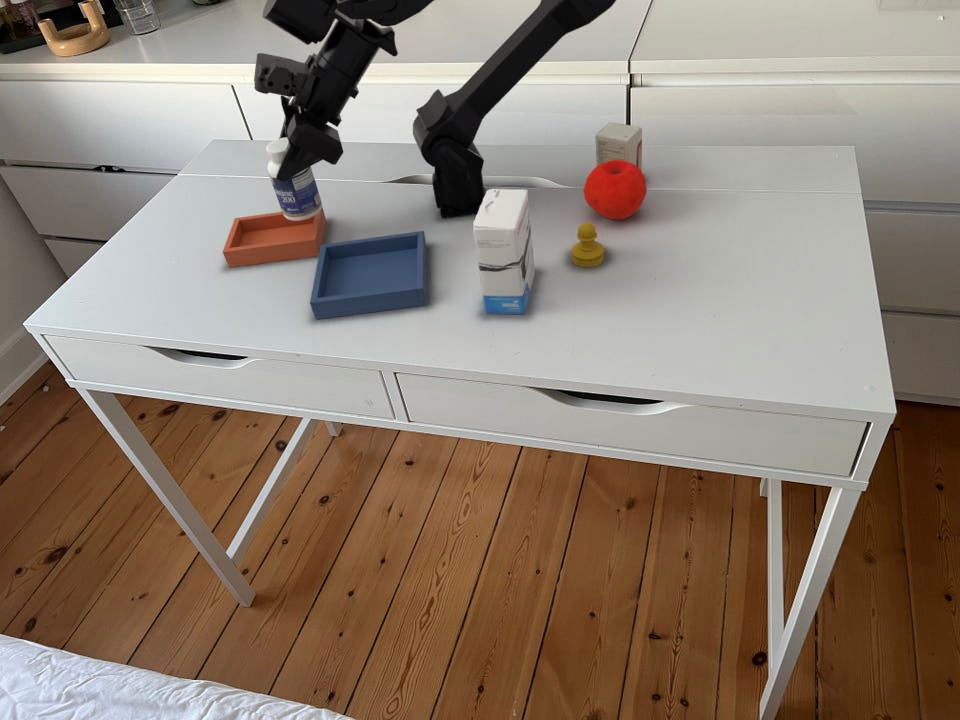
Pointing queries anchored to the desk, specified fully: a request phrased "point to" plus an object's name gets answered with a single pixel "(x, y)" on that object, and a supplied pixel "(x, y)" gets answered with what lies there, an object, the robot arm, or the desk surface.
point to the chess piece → (587, 247)
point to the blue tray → (370, 275)
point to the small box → (619, 144)
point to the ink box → (504, 250)
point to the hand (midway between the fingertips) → (278, 169)
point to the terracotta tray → (273, 239)
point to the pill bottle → (293, 186)
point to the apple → (615, 189)
